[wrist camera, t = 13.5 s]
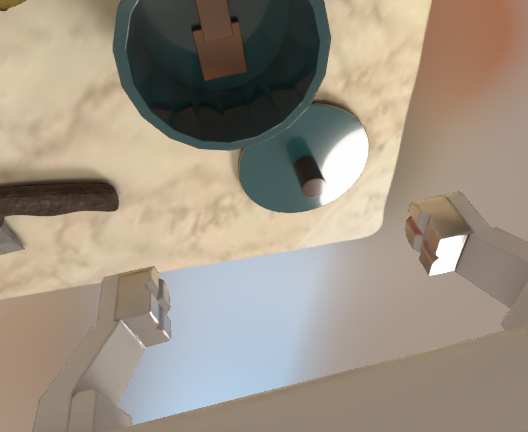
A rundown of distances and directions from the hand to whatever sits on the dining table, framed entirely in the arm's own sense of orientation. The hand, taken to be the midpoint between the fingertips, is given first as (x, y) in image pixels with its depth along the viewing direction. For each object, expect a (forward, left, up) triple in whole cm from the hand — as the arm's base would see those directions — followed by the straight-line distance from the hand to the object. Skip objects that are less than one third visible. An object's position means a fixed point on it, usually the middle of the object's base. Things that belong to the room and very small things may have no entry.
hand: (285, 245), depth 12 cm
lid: (+20, +7, -26) cm, 34 cm away
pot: (+2, 0, -27) cm, 27 cm away
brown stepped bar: (+2, 0, -27) cm, 27 cm away
